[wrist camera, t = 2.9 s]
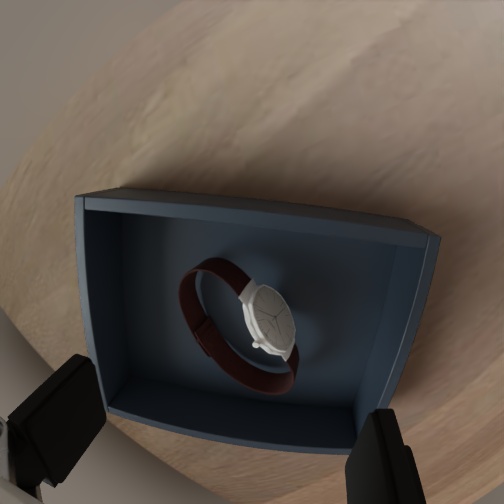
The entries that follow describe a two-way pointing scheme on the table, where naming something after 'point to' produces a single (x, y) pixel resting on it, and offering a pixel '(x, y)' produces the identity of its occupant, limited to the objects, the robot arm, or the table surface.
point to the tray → (232, 316)
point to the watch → (257, 320)
